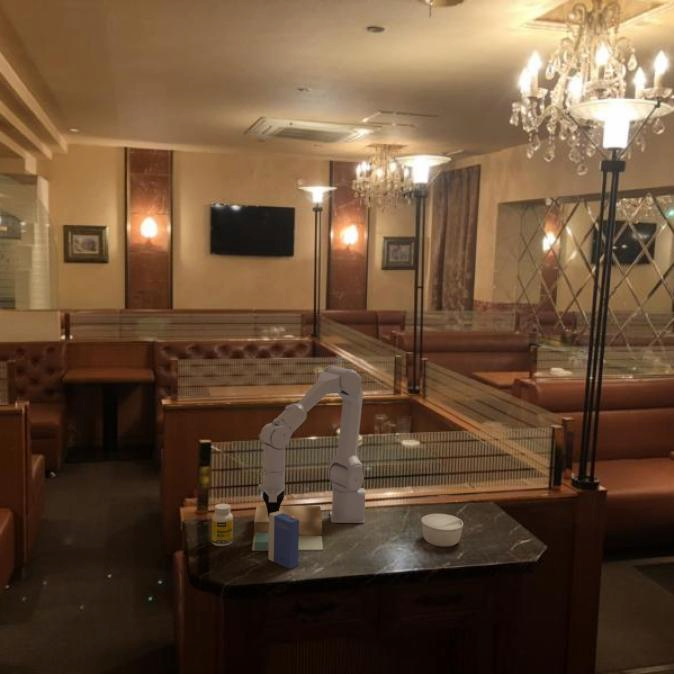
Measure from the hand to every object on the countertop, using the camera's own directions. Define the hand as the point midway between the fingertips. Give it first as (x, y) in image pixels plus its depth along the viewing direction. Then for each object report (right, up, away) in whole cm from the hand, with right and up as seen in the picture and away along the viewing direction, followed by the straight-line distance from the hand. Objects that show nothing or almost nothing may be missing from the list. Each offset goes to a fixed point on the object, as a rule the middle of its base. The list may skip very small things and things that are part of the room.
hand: (273, 519), depth 182 cm
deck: (+3, -4, +7) cm, 9 cm away
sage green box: (0, -3, -5) cm, 6 cm away
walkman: (+4, -7, -15) cm, 17 cm away
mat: (+4, -5, -3) cm, 8 cm away
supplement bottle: (-13, -5, -4) cm, 14 cm away
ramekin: (+45, -6, +2) cm, 45 cm away
